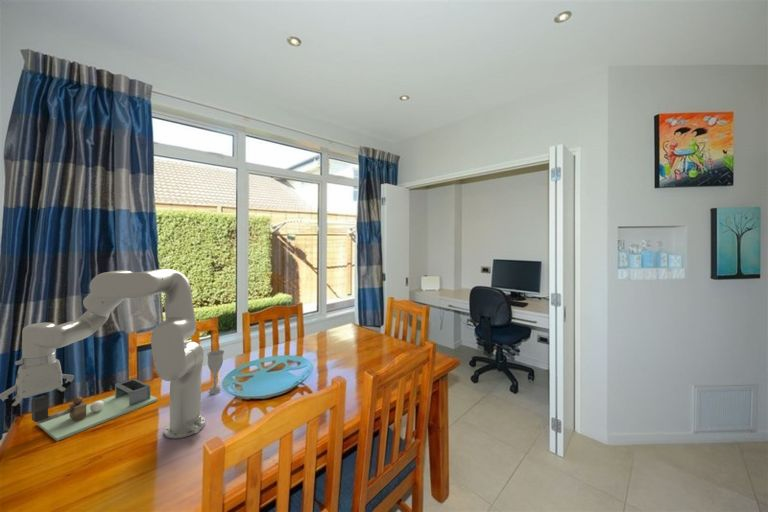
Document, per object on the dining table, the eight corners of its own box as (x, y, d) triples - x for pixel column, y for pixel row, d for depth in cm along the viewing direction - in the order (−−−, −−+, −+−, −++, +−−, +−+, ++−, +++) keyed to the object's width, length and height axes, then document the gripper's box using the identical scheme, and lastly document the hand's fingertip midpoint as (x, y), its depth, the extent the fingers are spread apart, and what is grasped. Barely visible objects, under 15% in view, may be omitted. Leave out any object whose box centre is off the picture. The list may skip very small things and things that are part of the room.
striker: (86, 416, 111) (86, 387, 110) (36, 435, 100) (36, 402, 99) (80, 413, 113) (80, 383, 113) (31, 431, 102) (30, 398, 101)
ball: (106, 410, 116) (106, 400, 116) (92, 415, 113) (92, 405, 113) (101, 407, 118) (101, 397, 118) (88, 412, 115) (88, 402, 114)
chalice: (215, 396, 131) (215, 356, 131) (202, 394, 133) (202, 354, 132) (227, 388, 139) (227, 350, 138) (214, 386, 140) (215, 349, 139)
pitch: (157, 400, 126) (157, 398, 126) (56, 441, 99) (56, 438, 99) (135, 389, 134) (135, 387, 134) (37, 424, 108) (37, 422, 107)
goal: (150, 400, 126) (150, 384, 126) (130, 408, 120) (130, 391, 120) (134, 392, 132) (134, 377, 132) (114, 399, 126) (115, 383, 125)
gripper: (2, 371, 92) (2, 425, 92) (78, 354, 107) (78, 400, 108) (-5, 365, 95) (-5, 417, 96) (70, 349, 111) (69, 394, 111)
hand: (39, 408), depth 102 cm, fingers open, 9 cm apart
